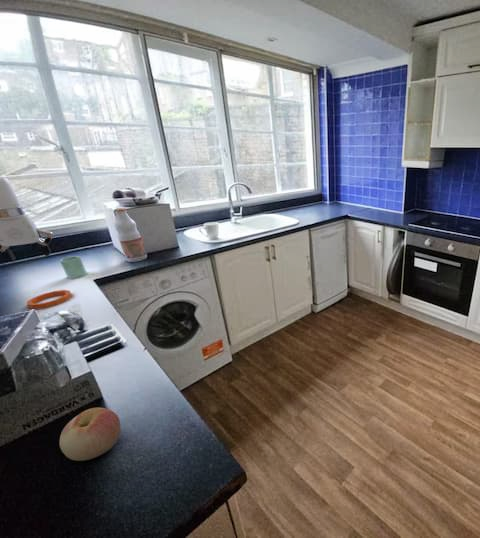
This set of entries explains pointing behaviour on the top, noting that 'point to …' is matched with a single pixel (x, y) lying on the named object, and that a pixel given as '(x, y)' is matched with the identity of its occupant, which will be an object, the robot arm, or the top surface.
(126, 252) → the fruit juice
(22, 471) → the top surface
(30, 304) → the ring
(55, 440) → the top surface
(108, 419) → the apple
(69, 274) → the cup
